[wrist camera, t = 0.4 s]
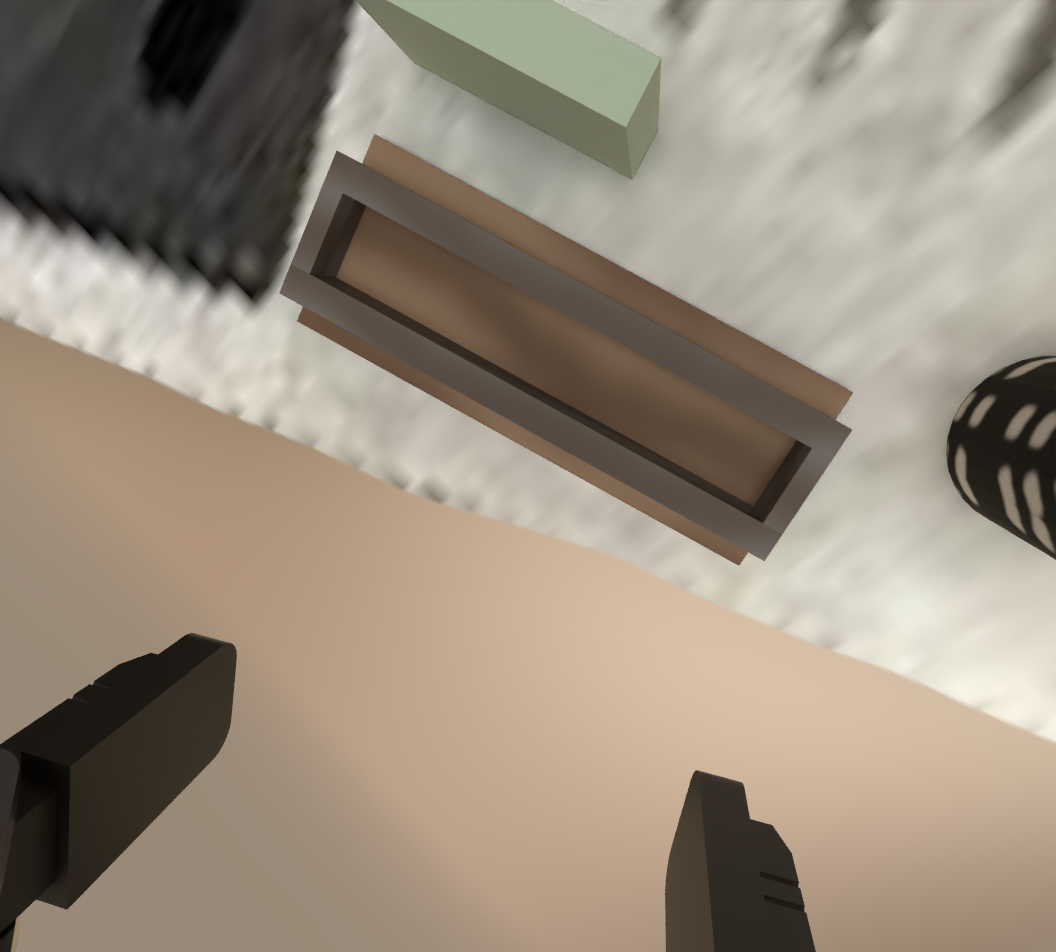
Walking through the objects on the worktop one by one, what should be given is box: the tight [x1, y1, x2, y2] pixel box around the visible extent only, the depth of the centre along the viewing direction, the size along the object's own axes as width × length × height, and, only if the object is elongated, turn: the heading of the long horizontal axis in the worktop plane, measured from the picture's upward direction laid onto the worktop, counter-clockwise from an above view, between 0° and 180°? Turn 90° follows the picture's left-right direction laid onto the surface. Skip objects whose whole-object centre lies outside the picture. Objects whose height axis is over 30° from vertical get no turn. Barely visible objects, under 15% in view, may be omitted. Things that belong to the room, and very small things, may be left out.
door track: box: [280, 134, 853, 565], centre depth 35 cm, size 10×26×4 cm, turn 62°
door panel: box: [356, 0, 661, 179], centre depth 30 cm, size 2×12×10 cm, turn 62°
